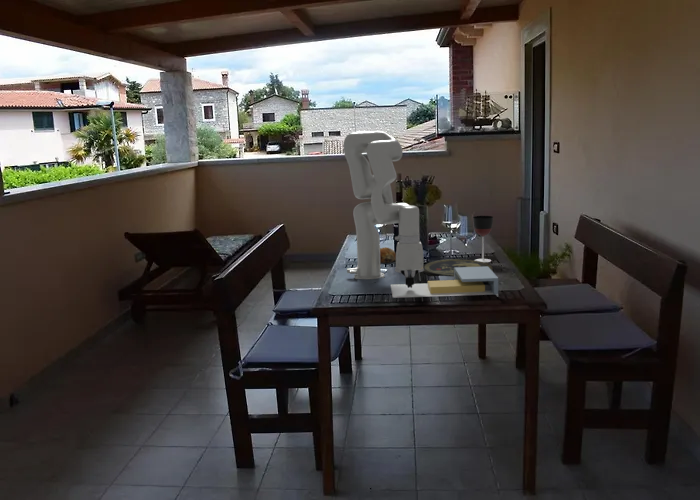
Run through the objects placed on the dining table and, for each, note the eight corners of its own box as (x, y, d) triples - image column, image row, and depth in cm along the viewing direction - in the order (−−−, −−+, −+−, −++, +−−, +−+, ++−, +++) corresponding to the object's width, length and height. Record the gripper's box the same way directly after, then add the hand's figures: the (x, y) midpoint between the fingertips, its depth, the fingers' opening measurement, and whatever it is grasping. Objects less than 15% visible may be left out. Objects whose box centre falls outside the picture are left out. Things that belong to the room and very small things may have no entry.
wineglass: (493, 262, 272) (493, 218, 268) (473, 262, 273) (473, 218, 269) (492, 258, 279) (492, 215, 275) (472, 258, 281) (473, 215, 277)
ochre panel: (430, 293, 224) (430, 287, 223) (427, 287, 232) (427, 280, 232) (484, 291, 223) (484, 285, 223) (479, 285, 232) (479, 279, 232)
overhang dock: (393, 300, 220) (392, 281, 219) (390, 287, 238) (390, 269, 237) (498, 296, 220) (498, 278, 218) (487, 283, 237) (488, 266, 236)
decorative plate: (419, 274, 249) (425, 258, 278) (419, 279, 250) (425, 262, 278) (494, 276, 243) (492, 259, 272) (494, 280, 244) (492, 263, 272)
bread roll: (397, 266, 287) (397, 250, 289) (393, 262, 277) (394, 245, 279) (376, 266, 289) (377, 250, 291) (372, 261, 279) (373, 244, 281)
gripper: (389, 241, 221) (390, 290, 225) (430, 240, 221) (430, 289, 225) (388, 237, 229) (389, 284, 233) (428, 236, 229) (428, 283, 233)
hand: (409, 286), depth 229 cm, fingers closed
